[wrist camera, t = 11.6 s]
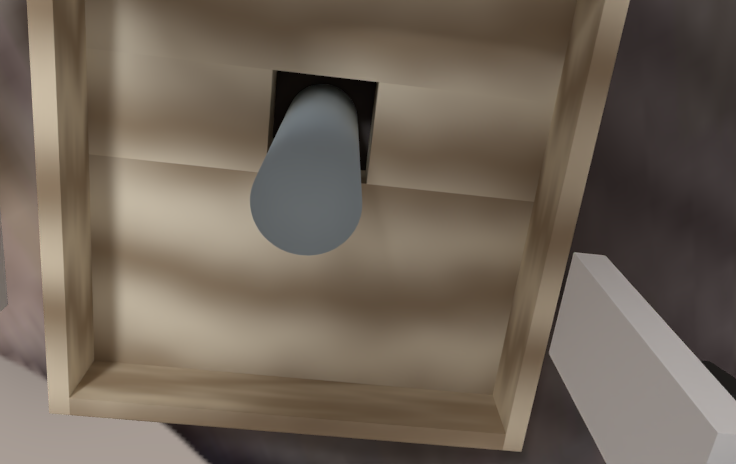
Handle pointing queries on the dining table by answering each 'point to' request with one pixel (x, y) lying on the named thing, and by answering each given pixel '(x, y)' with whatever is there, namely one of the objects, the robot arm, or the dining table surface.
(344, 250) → the box
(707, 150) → the dining table surface
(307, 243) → the peg
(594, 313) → the robot arm
